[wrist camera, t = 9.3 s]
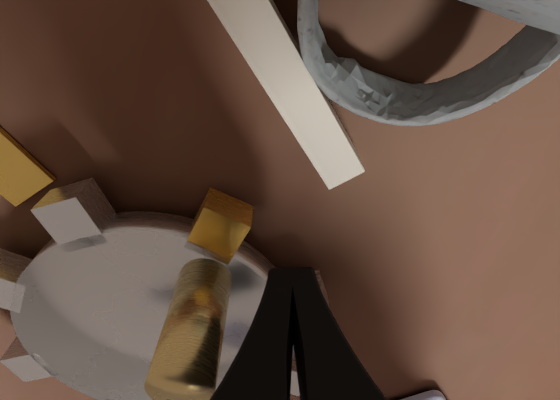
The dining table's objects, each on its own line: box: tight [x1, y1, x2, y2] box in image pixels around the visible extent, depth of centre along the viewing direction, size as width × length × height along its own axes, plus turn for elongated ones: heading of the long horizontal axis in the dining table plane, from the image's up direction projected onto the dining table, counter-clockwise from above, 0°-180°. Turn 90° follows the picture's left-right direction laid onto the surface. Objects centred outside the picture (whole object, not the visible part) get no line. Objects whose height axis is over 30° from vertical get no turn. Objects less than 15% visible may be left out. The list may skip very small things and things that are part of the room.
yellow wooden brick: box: [0, 127, 56, 207], centre depth 14 cm, size 12×4×1 cm, turn 32°
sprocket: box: [0, 178, 330, 400], centre depth 14 cm, size 14×14×5 cm
